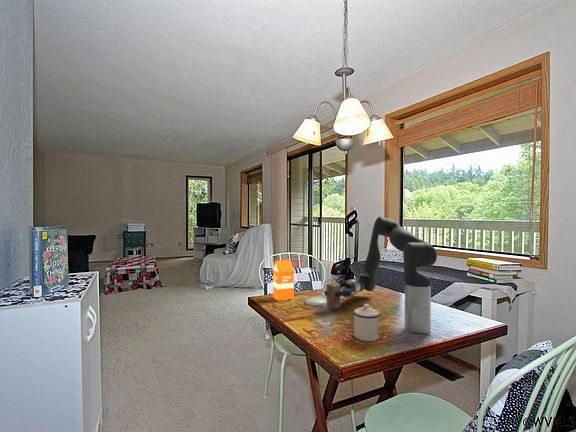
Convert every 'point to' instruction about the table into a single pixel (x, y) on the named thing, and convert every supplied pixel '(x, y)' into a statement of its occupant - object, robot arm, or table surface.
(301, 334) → the table surface
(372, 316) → the teacup with lid
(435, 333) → the table surface
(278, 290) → the orange juice
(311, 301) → the white plate
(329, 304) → the walnut block
